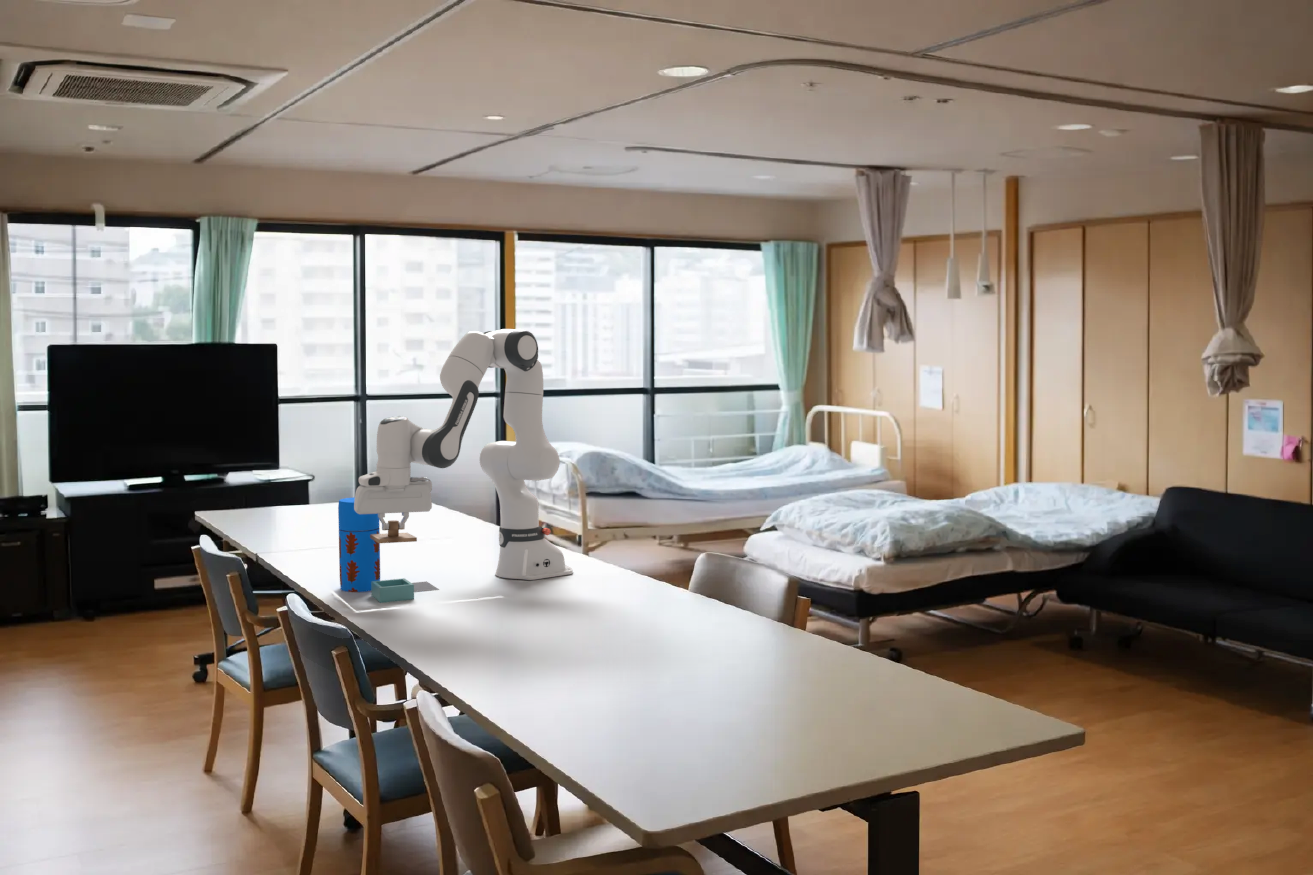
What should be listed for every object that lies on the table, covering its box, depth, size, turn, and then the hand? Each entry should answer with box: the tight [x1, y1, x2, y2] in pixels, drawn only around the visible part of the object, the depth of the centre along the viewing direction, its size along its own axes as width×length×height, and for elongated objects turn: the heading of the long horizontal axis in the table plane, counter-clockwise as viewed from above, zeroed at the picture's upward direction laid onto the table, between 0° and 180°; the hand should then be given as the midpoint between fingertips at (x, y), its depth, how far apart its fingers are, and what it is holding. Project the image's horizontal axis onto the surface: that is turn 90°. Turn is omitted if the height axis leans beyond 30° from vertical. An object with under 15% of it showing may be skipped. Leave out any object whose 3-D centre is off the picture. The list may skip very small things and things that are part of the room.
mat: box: [411, 581, 440, 593], centre depth 329 cm, size 12×12×1 cm
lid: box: [370, 519, 418, 544], centre depth 318 cm, size 10×10×5 cm
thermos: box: [337, 496, 381, 593], centre depth 327 cm, size 11×11×25 cm
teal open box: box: [370, 577, 415, 604], centre depth 316 cm, size 9×9×4 cm
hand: (393, 529), depth 318 cm, fingers closed on lid, 3 cm apart
